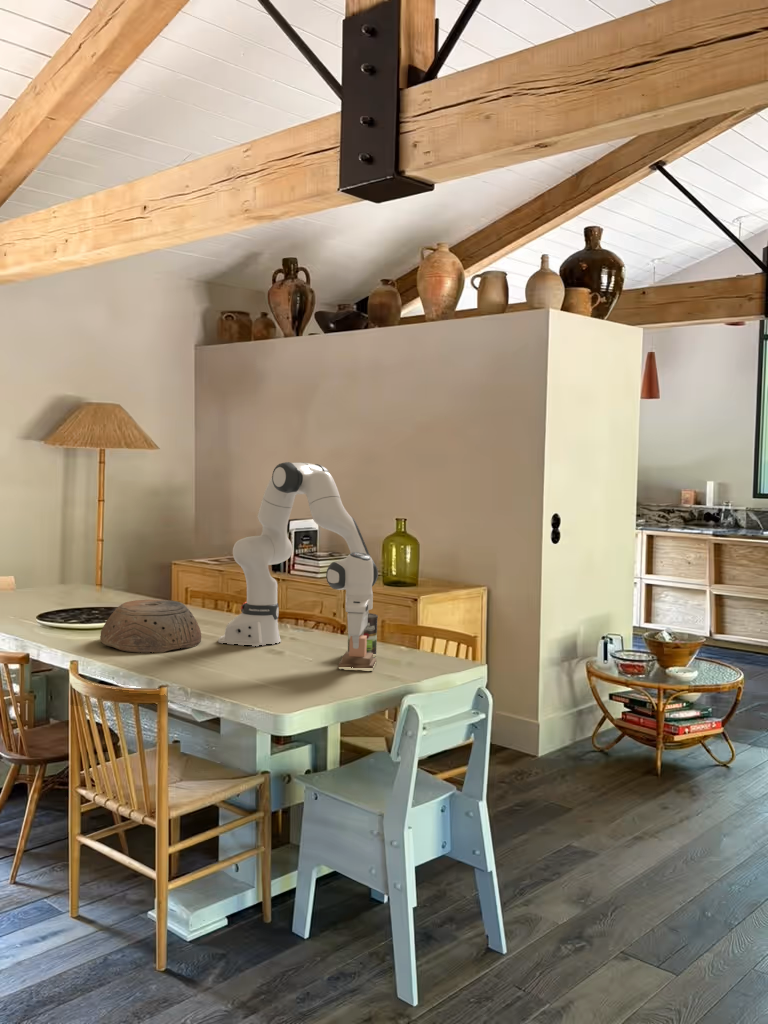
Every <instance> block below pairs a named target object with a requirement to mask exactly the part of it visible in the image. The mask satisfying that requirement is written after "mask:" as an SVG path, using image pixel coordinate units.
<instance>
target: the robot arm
mask: <svg viewBox="0 0 768 1024" xmlns="http://www.w3.org/2000/svg"><path fill="white" fill-rule="evenodd" d="M266 485H267V486H266V488H265V490H264V492H263V493H264V494H263V496H262V500H261V502H260V507H259V510H258V513H257V519H258V521H259V523H260V524H261V526H262V530H261V533H260V535H253V536H246V537H243V538H240V539H238V540H237V541H235V543H234V545H233V548H232V555H233V556H232V557H233V559H234V561H235V563H236V564H238V565H239V567H241V569H242V571H243V574H244V577H245V582H246V601H245V602H243V603H242V604H241V606H240V610H241V613H240V614H238V615H237V616H235V617H234V618H233V619H232V620H230V621H229V622H228V623H227V625H226V627H225V630H224V634H223V635H221V636H220V637H218V641H217V642H218V643H219V644H223V643H227V645H234V644H238V645H237V646H244V645H252V646H251V647H255V646H256V647H260V646H259V645H262V646H267V645H266V644H272V645H276V644H275V643H277V644H279V642H280V643H281V642H282V639H281V637H280V630H279V623H278V622H279V621H278V619H279V609H280V608H279V603H278V581H277V580H276V578H274V577H272V575H271V572H270V569H269V566H270V565H271V566H272V565H279V564H280V563H284V562H285V561H288V559H290V557H291V556H292V554H293V544H292V542H291V540H290V539H289V538H288V524H289V521H290V516H291V513H292V509H293V506H294V503H295V498H296V497H297V495H305V496H306V499H307V502H308V507H309V512H310V515H311V517H312V519H313V521H314V523H315V524H316V525H317V526H319V527H320V528H322V529H324V530H327V531H330V532H332V533H335V534H337V535H338V536H340V537H342V538H343V539H344V541H345V542H346V545H347V547H348V549H349V552H350V553H349V554H348V555H347V556H346V557H345V558H343V559H341V560H337V561H333V562H331V563H330V564H329V565H328V567H327V569H326V574H325V575H326V582H327V584H328V586H329V587H330V588H332V589H333V590H337V591H341V590H342V591H343V590H345V606H344V607H345V612H346V613H347V634H348V633H349V636H352V640H353V648H355V649H358V647H359V636H360V635H363V634H364V629H365V628H366V626H367V624H368V613H370V612H369V611H370V610H372V609H373V608H374V607H373V604H374V603H373V602H374V599H373V598H374V593H373V586H374V585H375V584H376V582H377V581H378V578H379V570H378V566H377V565H376V563H375V562H374V560H373V558H372V556H371V554H370V551H369V550H368V547H367V545H366V543H365V540H364V538H363V535H362V533H361V530H360V528H359V526H358V524H357V522H356V520H355V519H354V518H353V516H351V515H350V514H349V512H348V511H347V509H346V507H344V504H343V501H342V498H341V495H340V492H339V488H338V487H337V484H336V482H335V479H334V477H333V476H332V474H331V473H330V471H329V469H328V468H326V467H325V466H323V465H322V464H317V463H315V464H314V463H311V462H310V463H309V462H301V461H300V462H291V461H290V462H289V461H286V462H282V463H279V464H277V465H275V467H274V469H273V471H272V476H271V477H270V479H269V481H268V483H267V484H266Z"/></svg>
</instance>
